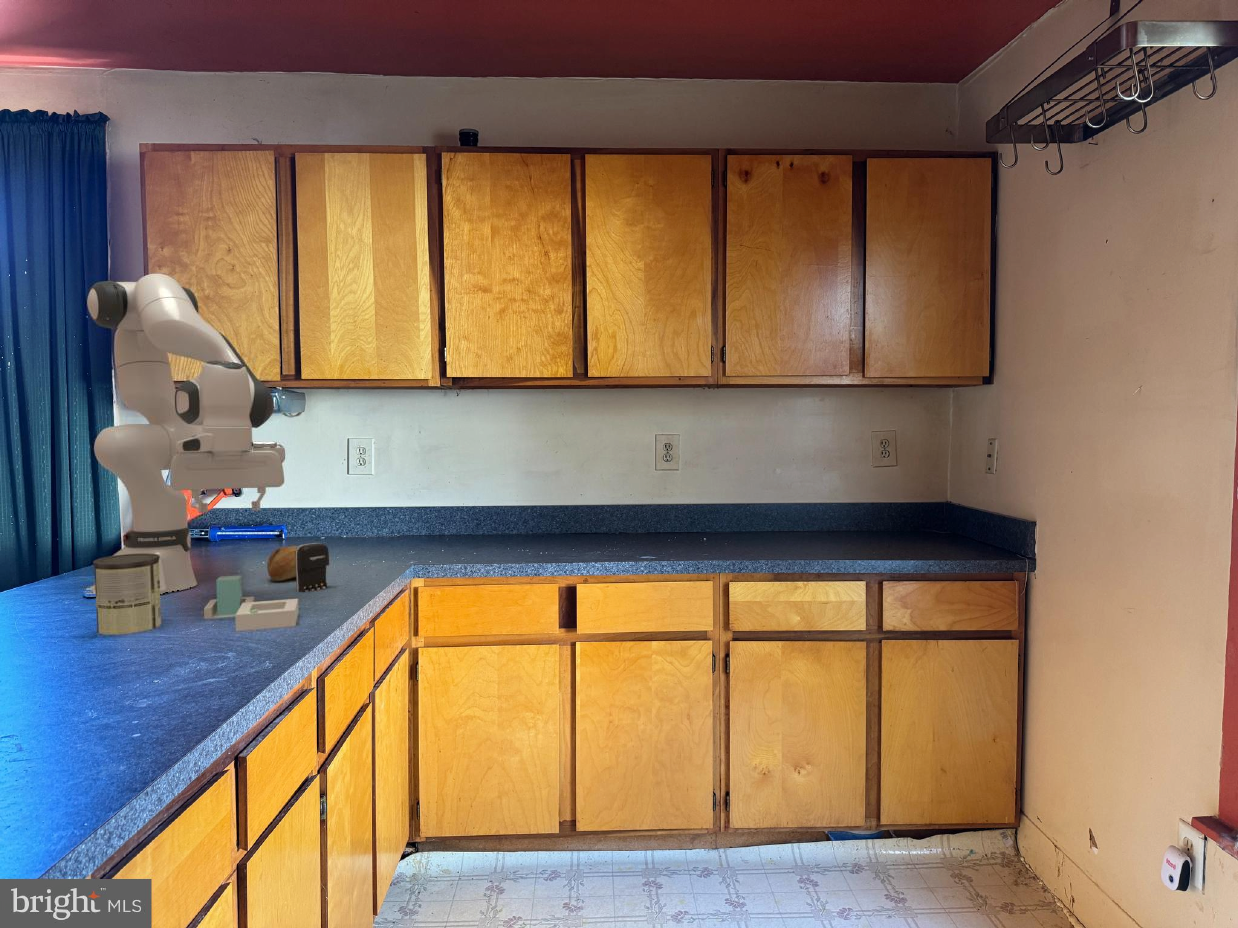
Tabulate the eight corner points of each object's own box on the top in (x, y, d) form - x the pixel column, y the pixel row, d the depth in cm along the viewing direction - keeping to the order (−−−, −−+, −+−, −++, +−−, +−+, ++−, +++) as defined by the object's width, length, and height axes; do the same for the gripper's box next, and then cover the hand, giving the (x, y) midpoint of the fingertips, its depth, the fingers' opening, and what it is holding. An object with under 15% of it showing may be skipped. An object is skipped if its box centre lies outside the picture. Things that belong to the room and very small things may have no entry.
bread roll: (255, 583, 184) (254, 551, 184) (292, 571, 199) (291, 541, 198) (291, 584, 182) (290, 552, 182) (325, 572, 197) (324, 542, 197)
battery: (304, 597, 168) (302, 546, 168) (294, 595, 170) (293, 545, 170) (332, 591, 174) (331, 543, 173) (323, 589, 176) (322, 541, 175)
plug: (217, 615, 148) (216, 580, 148) (220, 610, 152) (219, 576, 152) (239, 613, 150) (238, 578, 149) (242, 609, 153) (241, 575, 153)
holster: (204, 623, 146) (203, 608, 146) (211, 614, 153) (210, 599, 153) (249, 620, 149) (249, 605, 148) (254, 610, 156) (254, 596, 156)
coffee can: (88, 633, 139) (85, 558, 138) (150, 622, 147) (147, 551, 146) (107, 644, 133) (104, 565, 132) (171, 631, 141) (168, 557, 140)
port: (236, 636, 137) (235, 612, 137) (243, 623, 146) (242, 600, 146) (295, 631, 140) (294, 608, 140) (298, 618, 150) (298, 596, 150)
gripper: (285, 441, 156) (287, 507, 157) (173, 442, 149) (175, 512, 149) (283, 441, 150) (285, 510, 151) (166, 443, 143) (169, 515, 143)
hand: (230, 511), depth 150 cm, fingers open, 8 cm apart
